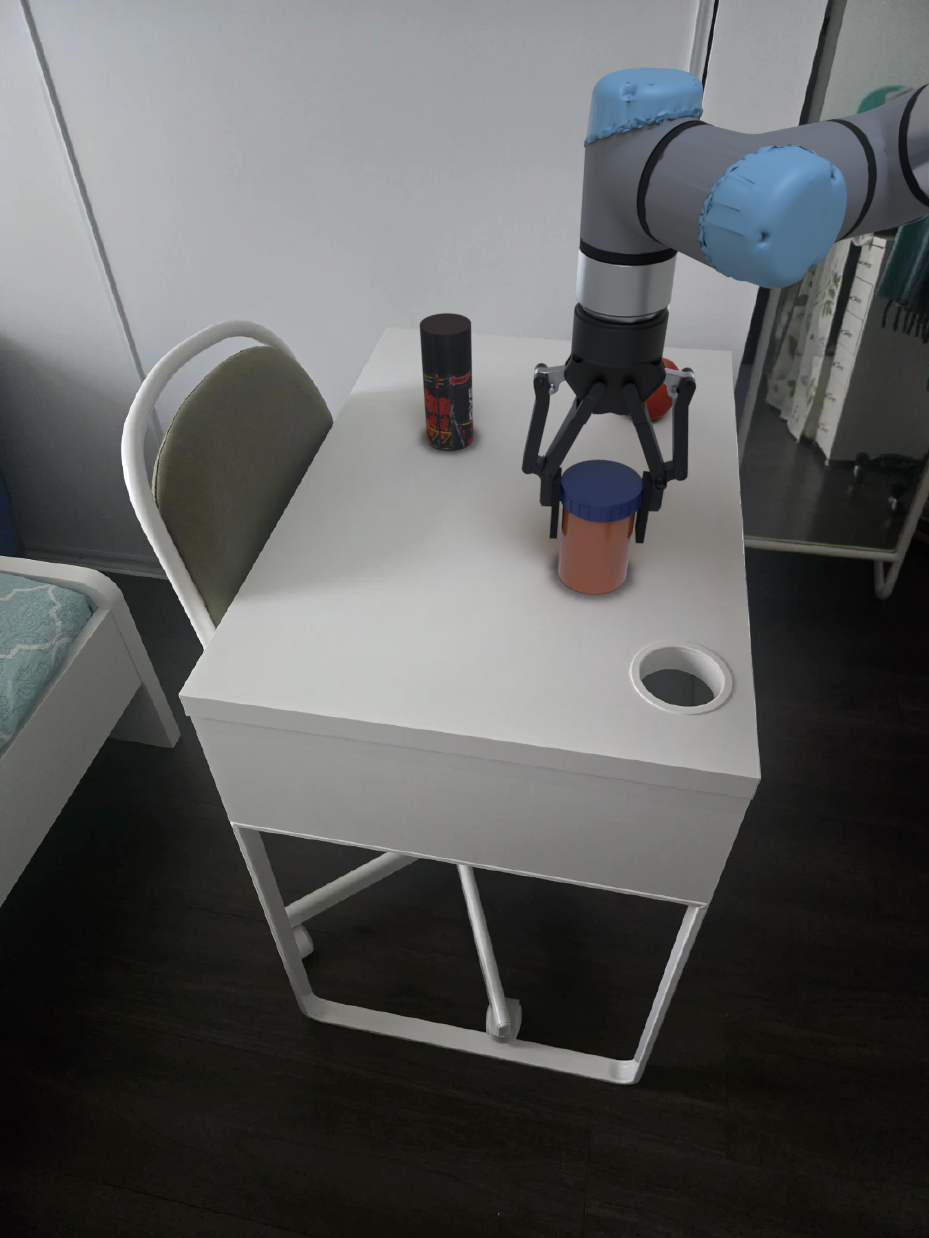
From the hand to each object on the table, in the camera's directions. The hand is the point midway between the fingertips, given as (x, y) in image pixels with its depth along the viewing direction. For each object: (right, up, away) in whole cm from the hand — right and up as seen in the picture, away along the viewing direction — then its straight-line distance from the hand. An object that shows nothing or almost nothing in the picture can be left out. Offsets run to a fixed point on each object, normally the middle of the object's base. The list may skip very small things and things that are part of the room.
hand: (596, 532), depth 80 cm
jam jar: (0, -4, +4) cm, 5 cm away
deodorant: (-15, +14, +23) cm, 31 cm away
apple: (+11, +18, +27) cm, 34 cm away
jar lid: (0, +4, -4) cm, 6 cm away
